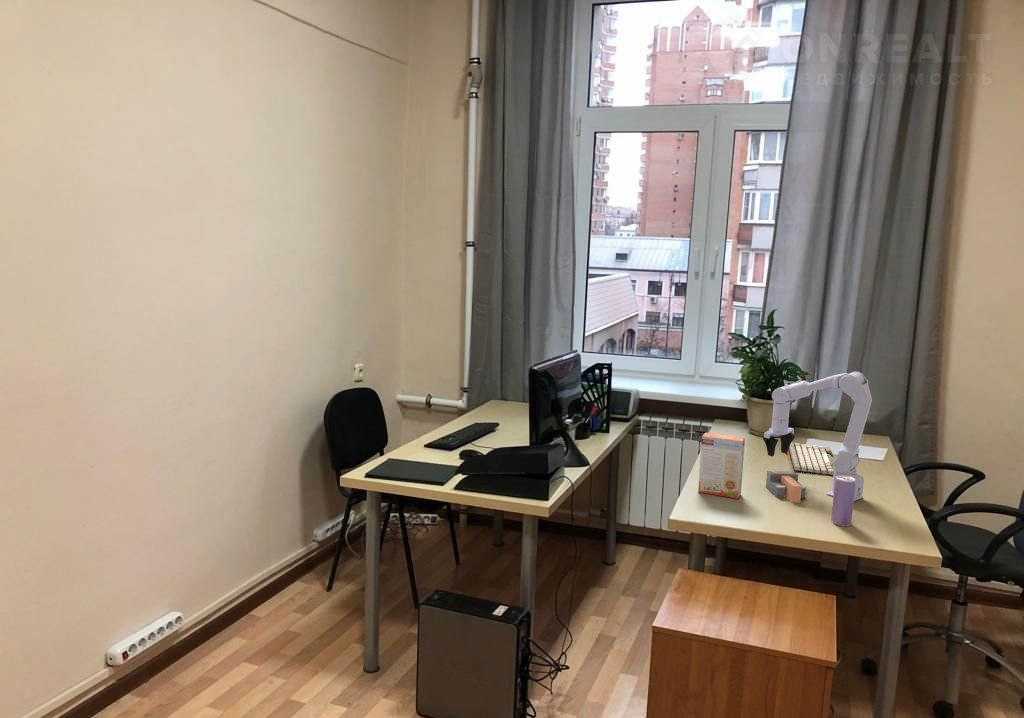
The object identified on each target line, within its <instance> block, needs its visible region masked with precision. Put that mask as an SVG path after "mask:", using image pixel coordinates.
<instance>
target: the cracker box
mask: <svg viewBox="0 0 1024 718" xmlns="http://www.w3.org/2000/svg"><path fill="white" fill-rule="evenodd" d="M745 441H746V437H743V436H742V437H741V436H736V435H735V436H733V435H728V434H726V435H725V434H719V433H713V432H705V433H703V435H701V442H700V443H701V445H700V458H699V473H698V489H697V492H698V493H700V494H701V493H702V494H708V495H713V496H719V497H720V496H721V497H726V498H731V499H739V497H740V496H741V495H742V485H743V471H744V459H745V458H744V457H745V445H746V444H745V443H746V442H745Z"/></svg>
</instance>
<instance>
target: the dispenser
mask: <svg viewBox="0 0 1024 718" xmlns="http://www.w3.org/2000/svg"><path fill="white" fill-rule="evenodd" d="M781 476H790V477H792V478H793V479H794V480H795V481H796V482H797V483H799V484H800V485H801V486H802V489H801V499H805V498H806V491H807V486H805V485H802V483H800V482H799V474H798V472H794V471H791V470H789V471H788V470H767V471H766V481H765V488H766V489H768V490H769V492H770V493H772V495H773V496H775V498H782V499H783V498H785V486H782V485H781Z"/></svg>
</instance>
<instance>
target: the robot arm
mask: <svg viewBox="0 0 1024 718" xmlns="http://www.w3.org/2000/svg"><path fill="white" fill-rule="evenodd" d="M830 387H832V388H834V389H840V390H841V391H842V392H843V393H844V394H846V395H847V396H849V397H850V398H851V399H852V401H853V402H854V404H853V408H852V410H851V411H852V412H851V415H850V419H849V422H848V425H847V429H846V432H845V435H844V440H843V442H842V446H841V447H840V449H839V451H838V454H837V455H836V456H835V457H833V459H834V460H832V465H833V466H832V467H833V471H834V475H832V476H833V477H832V485H831V486H832V487H831V491H829V492H827V493H826V495H828V496H832V497H834V487H835V479H836V476H840V475H843V476H850V477H853V478H854V479H855V482H856V485H855V494H854V502H855V501H858V500H860V499H862V498H864V496H863V493H864V492H863V491H864V483H865V482H864V480H865V479H864V477H863V475H860V474H858V473H857V468H856V467H857V466H858V465H859V464H860V456H859V454H860V448H859V447H860V444H861V440H862V438H863V437H862V436H863V433H864V430H865V425H866V422H867V420H868V416H869V413H870V409H871V406H872V402H873V398H872V394H871V390H870V387H869V380H868V378H866V376H865V375H864V374H863V373H862V372H860V371H852V372H850V373H849V372H846V373H845V372H843V373H839V374H838V373H837V374H835V375H834V374H833V375H831V376H828V377H824V378H822V379H818V380H814V381H812V382H809V381H806V380H802V379H800V380H797V381H796V382H795V383H792V384H789V383H788V384H787V383H786V384H784V386H781V387H777V388H776V389H774V390H773V391H772V393H771V399H772V401H773V406H772V416H771V417H772V419H771V427H770V428H769V429H768V430H767V431H764V433H763V436H762V440H763V442H764V443H765V446H766V451H767V456H770V457H772V458H773V457H774V456H775V452H776V447H777V444H778V443H779V439H777V438H775V437H779V438H780V452H781V453H783V454H784V455H785V454H787V452H788V449H789V447H790V444H791V442H792V443H793V441H794V439H796V435H794V434H795V429H794V428H793V427H789V418H790V408H791V407H790V404H791V401H794V400H795V401H796V400H800V399H803V398H806V397H809V396H810V395H811V394H812V392H814V391H818V390H822V389H826V388H830Z"/></svg>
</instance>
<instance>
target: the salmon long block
mask: <svg viewBox="0 0 1024 718" xmlns="http://www.w3.org/2000/svg"><path fill="white" fill-rule="evenodd" d="M799 483H800V482H799ZM799 483H797V482H796V481H795V480H794V479H793V478H792V477H790V476H781V485H782V486H785V496H784V498H786V500H788V501H790V503H801V500H802V498H801V489H802V486H803V485H802V484H801V483H800V484H801V485H802V486H801V485H800V484H799Z"/></svg>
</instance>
